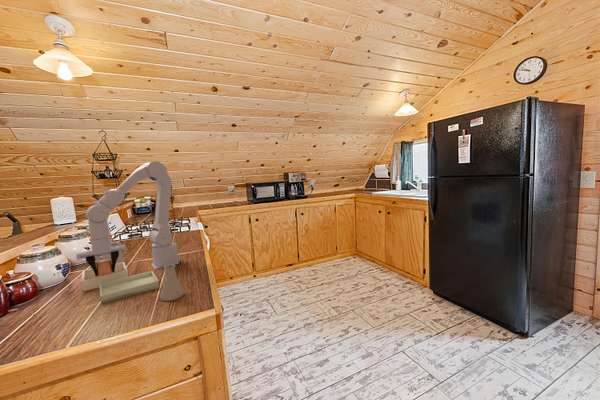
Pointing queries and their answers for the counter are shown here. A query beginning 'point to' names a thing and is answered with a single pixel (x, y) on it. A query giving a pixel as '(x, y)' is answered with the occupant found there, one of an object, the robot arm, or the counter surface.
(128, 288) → the tray
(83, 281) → the box
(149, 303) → the counter surface
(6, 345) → the counter surface
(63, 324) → the counter surface
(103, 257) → the cup
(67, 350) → the counter surface
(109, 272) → the peg
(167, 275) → the flask
